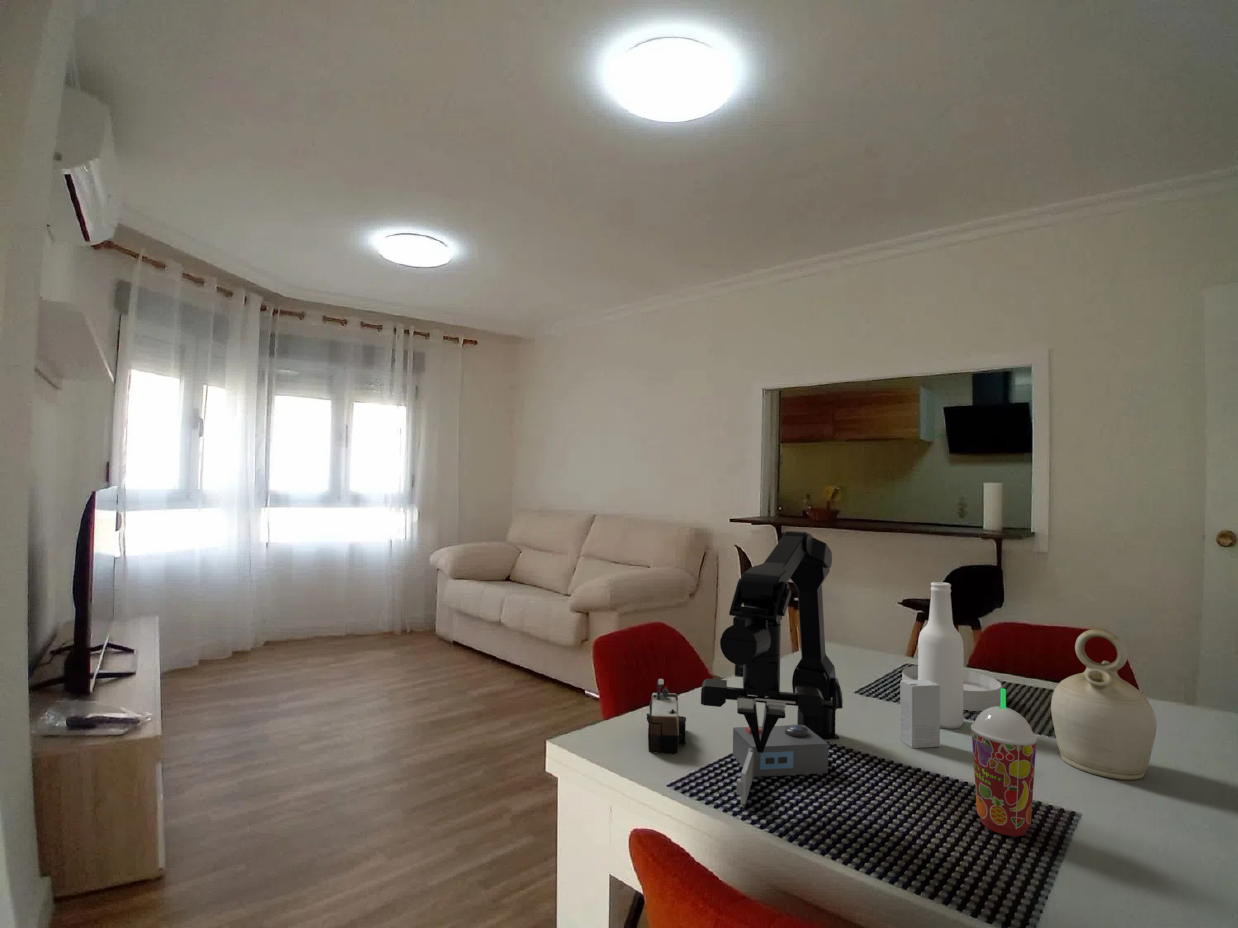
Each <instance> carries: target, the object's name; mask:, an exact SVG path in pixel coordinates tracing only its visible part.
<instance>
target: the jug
mask: <svg viewBox="0 0 1238 928" xmlns="http://www.w3.org/2000/svg"><path fill="white" fill-rule="evenodd" d="M1093 638H1102V639H1105V640H1107V641H1109V642H1110V643H1111V644H1112V645H1113V647H1114V648H1115V650H1116V653H1117V654H1116V659H1115V660H1114V661H1112V662H1110V661H1108V660H1102V662H1097V661H1094V660H1092V659H1091V658H1089V656H1088V655H1087V653H1086V651H1085V647H1086V646H1085V645H1086V643H1087V642H1088V641H1089V640H1091V639H1093ZM1074 650H1075V654H1076V657H1077V658H1078V660H1079V661H1080V662H1081V663H1082V664H1083V665H1084V666H1085V667H1086V668H1085V670H1084V671H1083V672H1081V673H1079V672H1078V673H1076V674H1073V675H1070V676H1068V677H1066V678H1064V679H1062V680H1061V681H1059V683H1058V684H1057V686H1056V687H1055V689H1054V691H1053V692H1052V696H1051V701H1050V711H1051V718H1052V723H1053V728H1054V733H1055V738H1056V744H1057V748H1058V749H1059V752H1060V757H1061V759H1062V761H1064V762H1065V763H1066V764H1068V765H1069V766H1071V767H1073V768H1074V769H1075V768H1076V769H1078V770H1080V771H1083V772H1085V773H1088V774H1092V775H1095V776H1099V777H1103V778H1108V779H1116V780H1121V781H1135V780H1136V781H1137V780H1139V779H1142V778H1144V776H1145V775H1146V771H1147V770H1148V767H1149V763H1150V760H1151V757H1152V752H1153V747H1154V743H1155V740H1156V733H1157V729H1158V728H1157V726H1158V725H1157V719H1156V714H1155V711H1154V708H1153V705H1152V704H1151V703H1150V702H1149V700H1148V698H1147V697H1146V696H1145V694H1143V693H1142V692H1141V691H1140V690H1139V689H1137V687H1135V686H1133V685H1132V684H1131V683H1130V682H1128V681H1126V680H1124V679H1123V678H1121V677H1120V676H1119V674H1118V671H1119V670H1120V669H1122V668H1123V667H1124V666H1125V664H1126V663H1127V660H1128V650H1127V647H1126V645H1125V643H1124V642H1123V640H1122V639H1121V638H1120V636H1117V634H1115V633H1113V632H1111V631H1108V630H1106V629H1103V628H1092V629H1088V630H1085V631H1083V632H1082V633H1080V635H1079V636H1078V637H1077V638H1076V641H1075V644H1074Z"/></svg>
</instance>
